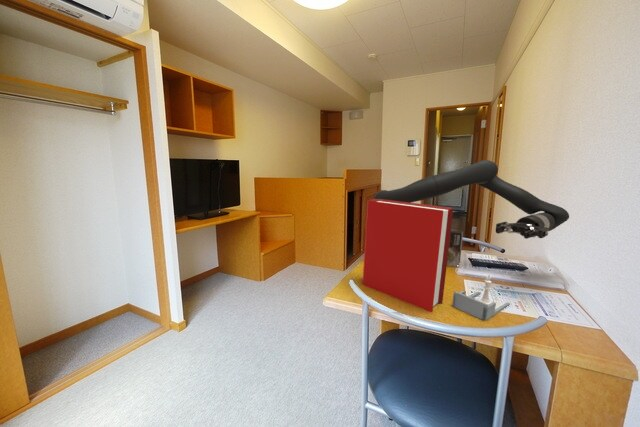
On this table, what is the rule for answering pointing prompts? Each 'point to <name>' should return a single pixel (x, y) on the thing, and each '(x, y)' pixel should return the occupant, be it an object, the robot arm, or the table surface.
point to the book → (407, 250)
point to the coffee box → (455, 247)
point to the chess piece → (486, 291)
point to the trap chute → (475, 305)
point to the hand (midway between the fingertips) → (510, 232)
